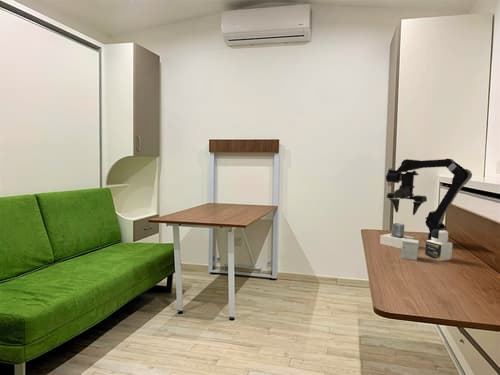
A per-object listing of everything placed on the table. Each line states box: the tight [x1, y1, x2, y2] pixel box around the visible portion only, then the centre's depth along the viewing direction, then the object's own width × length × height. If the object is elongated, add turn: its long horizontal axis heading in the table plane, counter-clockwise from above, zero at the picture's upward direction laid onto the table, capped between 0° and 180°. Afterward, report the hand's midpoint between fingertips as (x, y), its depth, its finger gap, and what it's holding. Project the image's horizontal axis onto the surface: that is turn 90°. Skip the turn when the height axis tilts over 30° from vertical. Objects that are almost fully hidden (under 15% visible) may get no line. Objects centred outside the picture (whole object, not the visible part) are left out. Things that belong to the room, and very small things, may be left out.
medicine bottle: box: [424, 229, 453, 262], centre depth 145 cm, size 7×7×12 cm
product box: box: [400, 238, 420, 261], centre depth 145 cm, size 6×6×7 cm
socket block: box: [379, 233, 415, 250], centre depth 167 cm, size 11×11×4 cm
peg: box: [390, 222, 405, 238], centre depth 167 cm, size 4×4×10 cm
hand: (405, 213), depth 181 cm, fingers open, 9 cm apart
